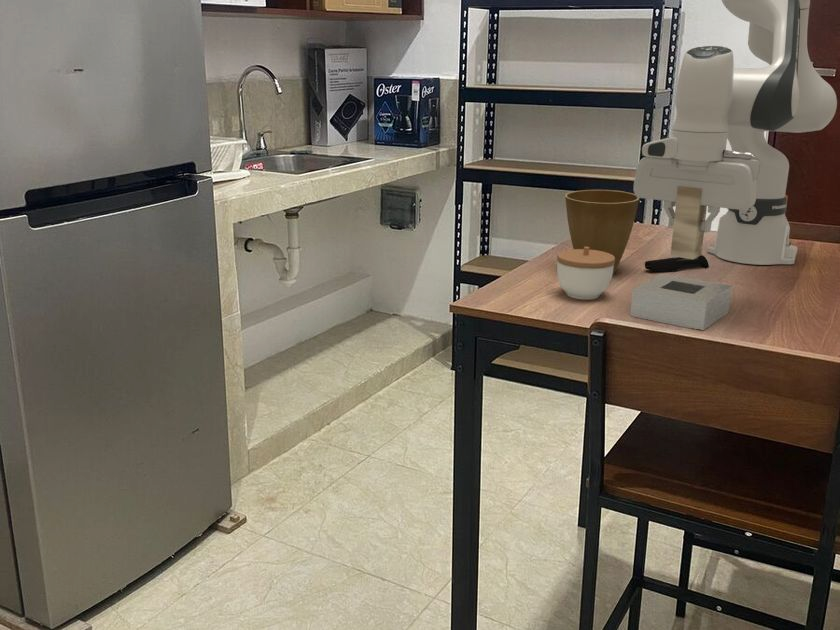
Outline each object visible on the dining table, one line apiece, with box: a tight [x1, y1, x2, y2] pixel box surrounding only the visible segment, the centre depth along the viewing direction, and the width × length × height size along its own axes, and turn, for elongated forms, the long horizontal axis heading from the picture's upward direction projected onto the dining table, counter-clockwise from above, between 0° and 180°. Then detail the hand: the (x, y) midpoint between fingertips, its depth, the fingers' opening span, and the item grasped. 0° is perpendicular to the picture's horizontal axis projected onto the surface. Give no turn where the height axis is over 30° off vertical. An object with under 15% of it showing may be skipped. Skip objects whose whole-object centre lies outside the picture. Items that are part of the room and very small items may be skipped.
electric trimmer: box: [644, 254, 710, 272], centre depth 180 cm, size 4×16×3 cm, turn 113°
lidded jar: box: [556, 247, 615, 301], centre depth 160 cm, size 11×11×9 cm
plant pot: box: [564, 189, 640, 274], centre depth 176 cm, size 15×15×16 cm
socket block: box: [630, 273, 733, 331], centre depth 150 cm, size 13×13×5 cm
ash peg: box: [670, 186, 708, 259], centre depth 145 cm, size 4×4×12 cm
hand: (688, 229), depth 145 cm, fingers closed on ash peg, 4 cm apart
